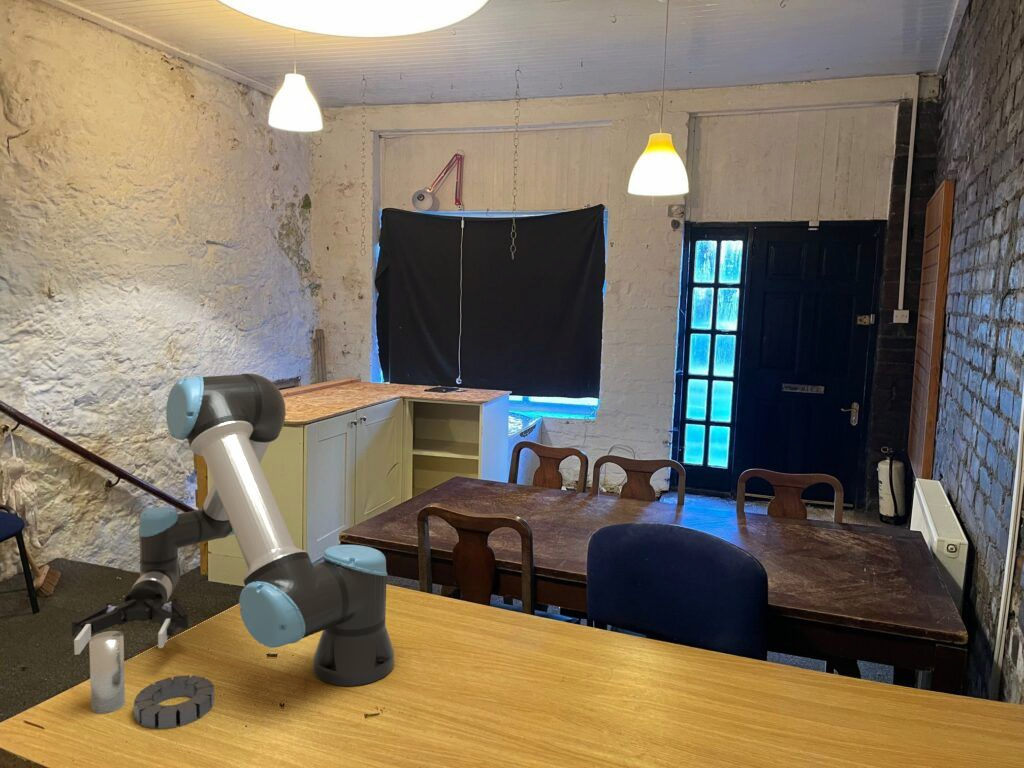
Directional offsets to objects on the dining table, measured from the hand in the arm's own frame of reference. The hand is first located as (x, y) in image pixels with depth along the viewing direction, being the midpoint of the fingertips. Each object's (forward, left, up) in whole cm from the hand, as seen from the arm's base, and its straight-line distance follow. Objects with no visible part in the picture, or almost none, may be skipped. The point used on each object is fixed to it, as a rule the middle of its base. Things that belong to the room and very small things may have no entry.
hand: (119, 644), depth 127 cm
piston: (0, +8, -7) cm, 11 cm away
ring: (-11, +11, -7) cm, 17 cm away
